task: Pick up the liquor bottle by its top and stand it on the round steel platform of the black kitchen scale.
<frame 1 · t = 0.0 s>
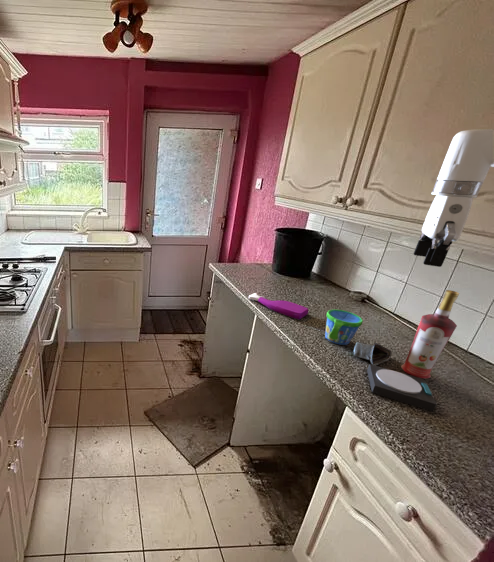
hand: (426, 260, 78), 38 cm above the countertop, tool pointing down, fingers open, 9 cm apart
liquor: (413, 375, 97), on the countertop
grey hollow piece: (368, 357, 105), on the countertop
snack cup: (336, 340, 114), on the countertop
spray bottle: (275, 307, 139), on the countertop
scale: (397, 389, 90), on the countertop
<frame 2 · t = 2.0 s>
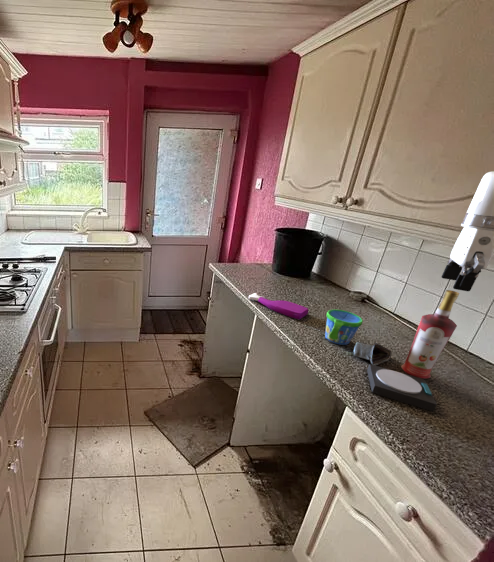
hand: (454, 284, 86), 30 cm above the countertop, tool pointing down, fingers open, 9 cm apart
nothing on the countertop moved.
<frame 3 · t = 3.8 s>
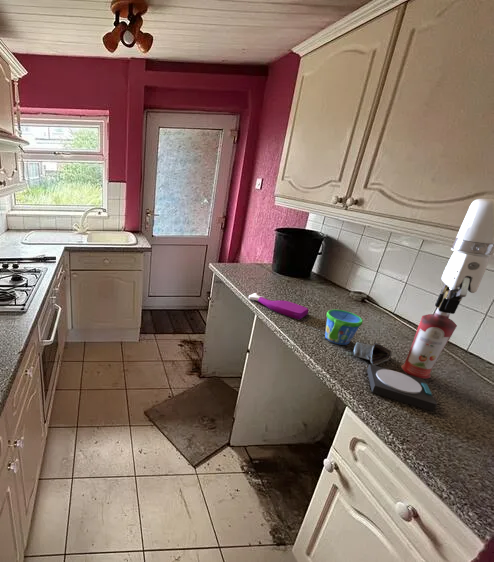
hand: (444, 309, 88), 23 cm above the countertop, tool pointing down, fingers closed on liquor, 2 cm apart
liquor: (413, 375, 97), on the countertop, touching gripper
everything else where it was.
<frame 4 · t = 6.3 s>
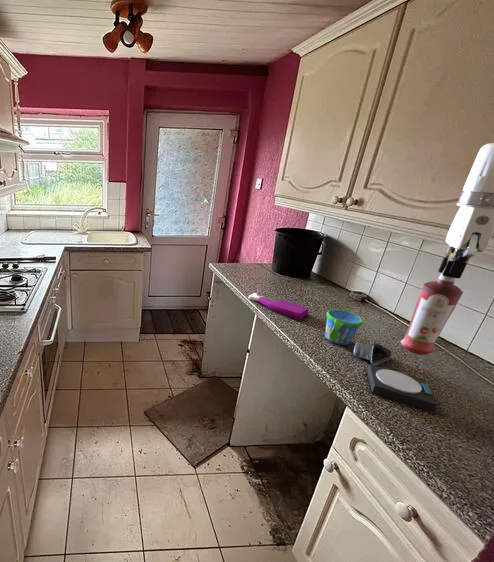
hand: (448, 274, 78), 35 cm above the countertop, tool pointing down, fingers closed on liquor, 2 cm apart
liquor: (414, 350, 87), point 12 cm above the countertop, touching gripper
everything else where it was.
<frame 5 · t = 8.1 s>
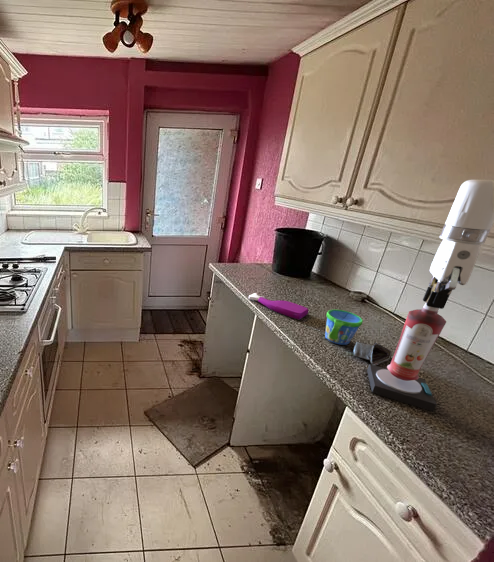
hand: (432, 304, 80), 27 cm above the countertop, tool pointing down, fingers closed on liquor, 2 cm apart
liquor: (400, 376, 88), point 4 cm above the countertop, touching gripper
everything else where it was.
when the fingers open (26 cm above the countertop, at t = 8.9 s): liquor stays where it is, resting on scale.
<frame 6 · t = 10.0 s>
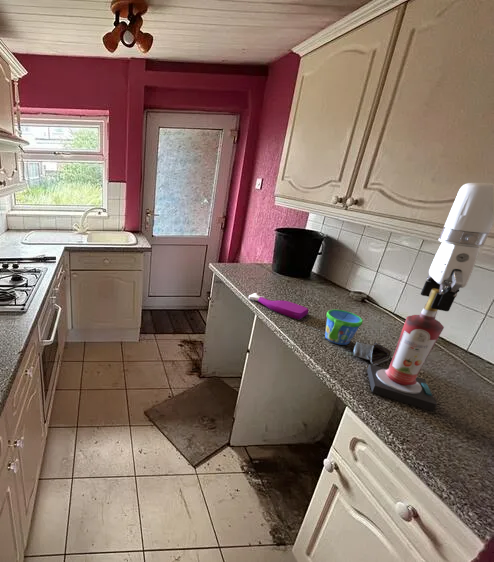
hand: (433, 302, 80), 28 cm above the countertop, tool pointing down, fingers open, 9 cm apart
liquor: (398, 380, 89), point 3 cm above the countertop, touching scale
everything else where it was.
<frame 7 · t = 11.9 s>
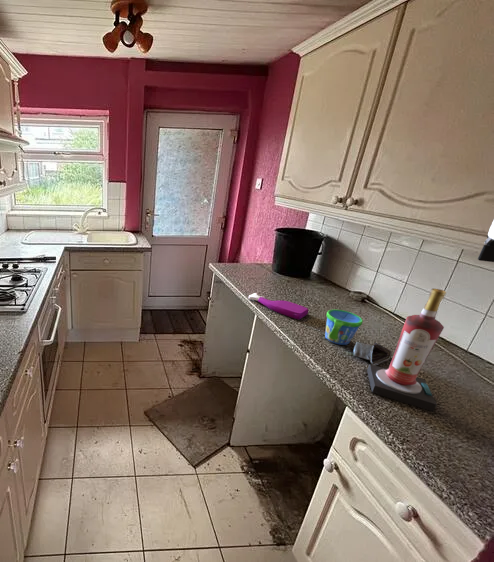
nothing on the countertop moved.
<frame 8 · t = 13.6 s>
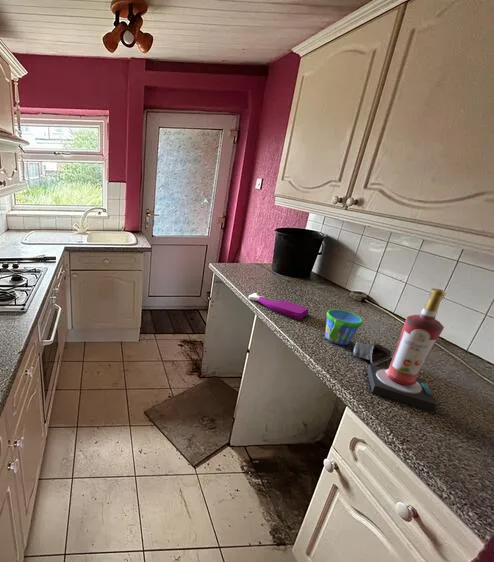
nothing on the countertop moved.
at the end: liquor inside the target area on the scale (0.1 cm from its centre), point 2.8 cm above the scale's base; liquor tilted 0°; the gripper is holding nothing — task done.
